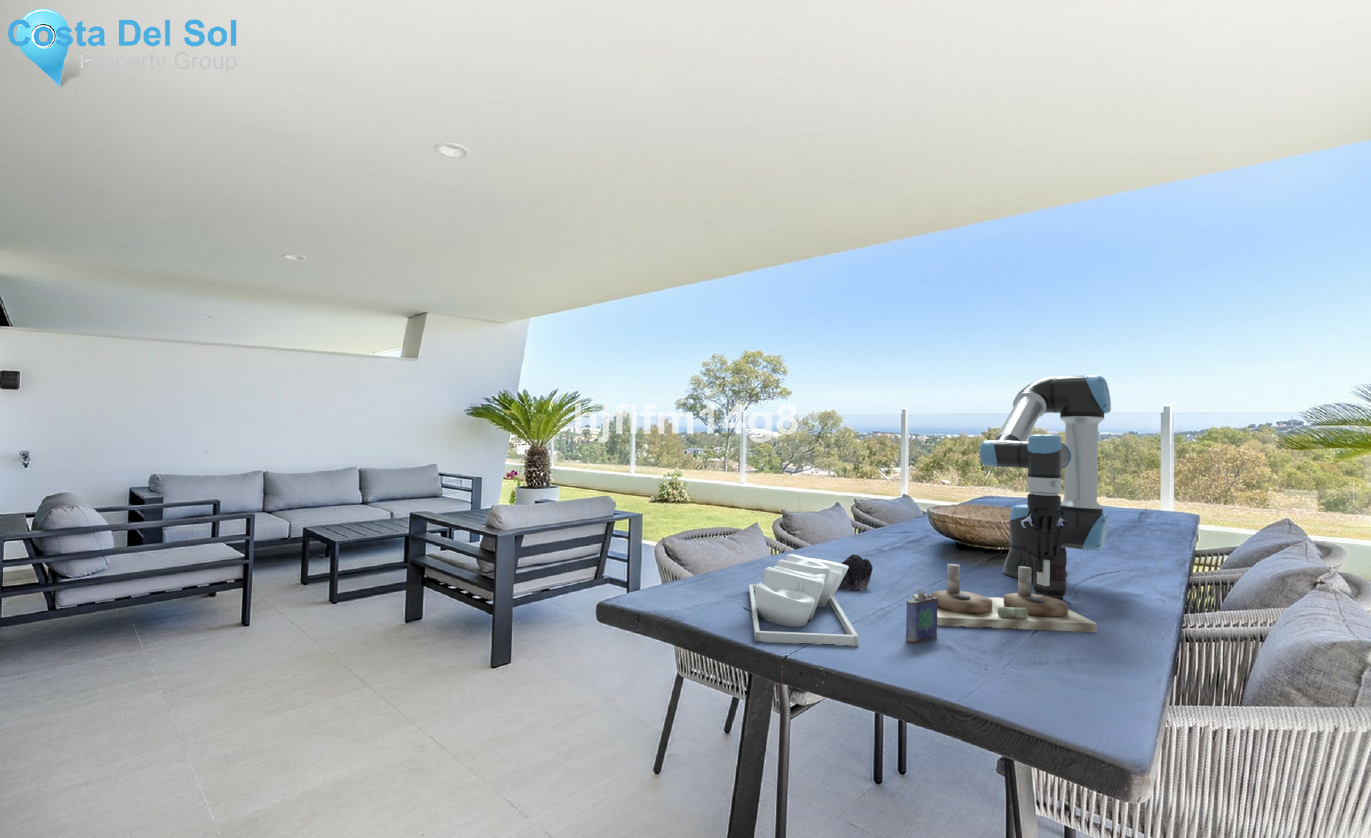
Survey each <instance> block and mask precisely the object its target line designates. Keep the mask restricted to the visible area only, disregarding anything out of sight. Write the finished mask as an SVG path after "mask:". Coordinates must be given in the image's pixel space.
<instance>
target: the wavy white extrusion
mask: <svg viewBox="0 0 1371 838" xmlns="http://www.w3.org/2000/svg"><path fill="white" fill-rule="evenodd" d="M848 568H849V567H848V566H847V565H844V564H841V562H837V561H831V560H826V559H820V558H814V557H813V558H812V557H811V558H810V557H805V556H802V555H797V554H793V553H789V554H787V555H786V556H785V559H783V558H781V559H779V560H778V561H777V563H776V565H774V566H773V567H771V566H767V567H766V568H765V569H764V571H763V573H764V574H763V582H762V581H759V582H757V585H756V586H755V592H754V596H755V603H756V610H757V616H759V617H760V618H762V619H763V618H764V620H765V621H767V620H769V621H771V622H770V623H772V622H773V623H772V624H775V623H776V624H775V625H779V624H781V625H780V626H783V625H784V626H783V627H789V628H801V627H800V626H802V627H805V626H807V624H808V621H809V620H808V619H812V620H813V618H814V615H815V612H816V609H817V608H818V607H821V608H825V607H827V606H828V603H829V602H828V601H829V599H830V597H831V595H832V596H834V597H835V595H836V593H837V591H838V590H839V589H838V587H839V585H840V583H841V582H842V580H843V578H844V576H845V574H846V572H847V570H848ZM769 621H768V622H769ZM804 625H805V626H804Z"/></svg>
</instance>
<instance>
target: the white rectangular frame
mask: <svg viewBox="0 0 1371 838" xmlns="http://www.w3.org/2000/svg"><path fill="white" fill-rule="evenodd" d="M757 584H758V583H757ZM757 584H756V583H749V585H748V592H750V594H749V601H751V603H750V610H752V611H751V619H753V620H752V628H753V635H754V636H755V637H754V636H753V637H754V642H755V641H763V642H762V643H778V644H780V643H781V644H783V643H784V644H799V643H816V644H815V645H821V644H835V645H834V646H844V645H848V646H849V645H851V646H849V647H859V645H860V644H859V643H860V641H859V640H860V638H859V637H860V636H859V635H858V633H857V632H856V629H855V628H854V627H853V625H852V623H851V621H850V620H849V619H848V617H847V615H846V613H845V612H844V611H843V609H842V607H841V606H840V603H838V601H837V599H836V598H835V595H834V596H832V595H831V597H830V599H829V602H828V603H829V605H830V607H831V606H832V607H831V608H833V609H832V610H833V612H834V611H835V612H834V614H835V615H837V616H836V618H837V619H838V621H839V620H840V621H839V623H840V622H841V623H840V625H841V626H842V628H843V627H844V628H843V629H844V631H845V634H842V633H841V634H840V633H839V634H838V633H819V632H817V633H816V632H815V633H814V632H794V631H793V632H792V631H767V630H760V625H759V624H760V623H759V618H758V616H759V615H758V614H757V610H756V603H755V592H754V590H755V586H756V585H757ZM818 643H819V644H818Z"/></svg>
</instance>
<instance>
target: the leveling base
mask: <svg viewBox="0 0 1371 838" xmlns="http://www.w3.org/2000/svg"><path fill="white" fill-rule="evenodd" d="M917 595H918V594H916V593H915V594H912V599H914V598H918V596H917ZM930 595H931V596H932V594H930ZM986 597H987V598H989V599H991V600H992V610H991V611H990V612H987V613H963V612H956V611H951V610H947V609H943V608H940V607H938V610H937V627H939V626H941V627H959V626H965V627H964V628H966V627H967V628H983V627H992V628H991V629H1007V628H1010V629H1011V628H1014V629H1013V630H1031V631H1032V630H1035V631H1055V632H1056V631H1057V632H1058V631H1059V632H1060V631H1061V632H1082V633H1097V629H1098V627H1097V624H1098V623H1097V622H1094V621H1093V620H1091V619H1089V618H1087V617H1085V616H1083V615H1081V614H1079V613H1077V612H1075V611H1074V610H1072V609H1070V608H1068V614H1067V615H1064V616H1039V615H1032V614H1028V610H1027V609H1026V608H1013V607H1006V606H1005V605H1004V597H990V596H986ZM993 627H994V628H993ZM996 627H997V628H996ZM1016 628H1017V629H1016ZM1011 630H1012V629H1011Z"/></svg>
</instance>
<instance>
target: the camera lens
mask: <svg viewBox="0 0 1371 838" xmlns="http://www.w3.org/2000/svg"><path fill="white" fill-rule="evenodd" d="M1055 558H1056V559H1055V560H1054V561H1052V571H1051V572H1050V586H1043V585H1040V584H1037V571H1035V559H1034V558H1033V563H1034V577H1033V580H1032V581H1033V583H1032V584H1033V591H1034V592H1035V593H1034V594H1037V595H1043V596H1048V597H1052V598H1056V599H1059V600H1062V601H1064V596H1066V591H1067V590H1066V589H1067V579H1066V578H1067V577H1068V572H1067V569H1066V567H1067V563H1068V562H1067V561H1068V559H1067V558H1068V556H1067V548H1065V546H1063V545H1062V546H1061V551H1060V555H1059V557H1058V558H1057V557H1055Z"/></svg>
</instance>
